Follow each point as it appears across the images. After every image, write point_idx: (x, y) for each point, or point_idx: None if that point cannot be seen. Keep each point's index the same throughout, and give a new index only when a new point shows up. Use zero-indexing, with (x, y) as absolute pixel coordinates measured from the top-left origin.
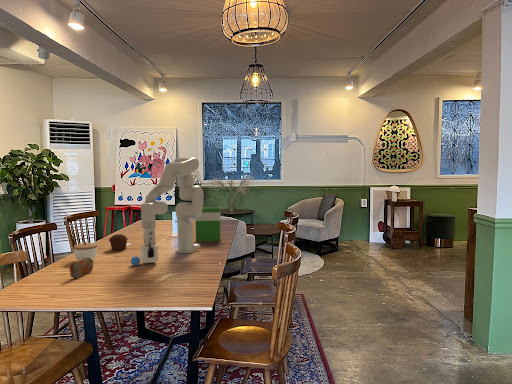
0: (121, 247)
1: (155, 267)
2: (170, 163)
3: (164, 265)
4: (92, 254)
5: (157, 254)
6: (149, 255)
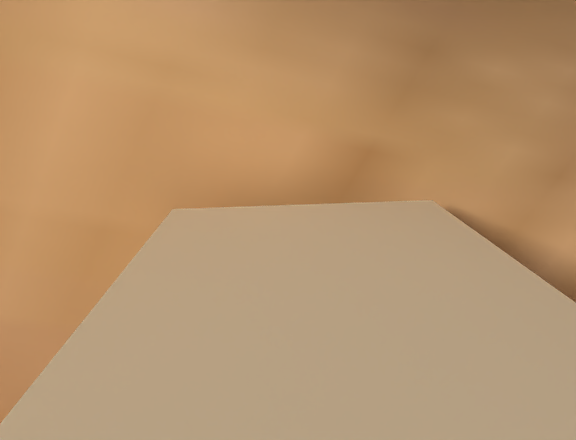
0: None
1: (567, 256)
2: None
3: (556, 108)
4: None
5: (511, 266)
6: None
